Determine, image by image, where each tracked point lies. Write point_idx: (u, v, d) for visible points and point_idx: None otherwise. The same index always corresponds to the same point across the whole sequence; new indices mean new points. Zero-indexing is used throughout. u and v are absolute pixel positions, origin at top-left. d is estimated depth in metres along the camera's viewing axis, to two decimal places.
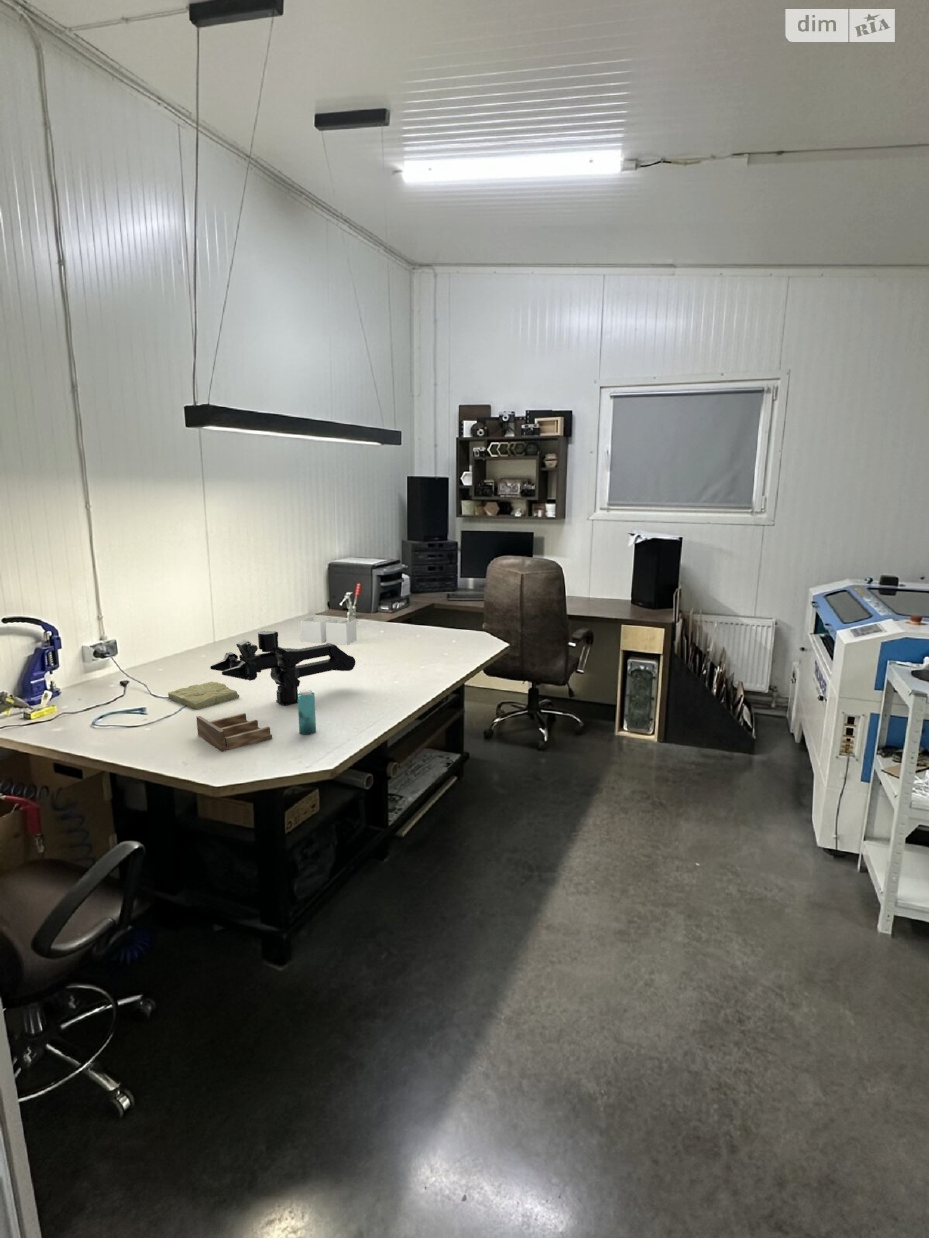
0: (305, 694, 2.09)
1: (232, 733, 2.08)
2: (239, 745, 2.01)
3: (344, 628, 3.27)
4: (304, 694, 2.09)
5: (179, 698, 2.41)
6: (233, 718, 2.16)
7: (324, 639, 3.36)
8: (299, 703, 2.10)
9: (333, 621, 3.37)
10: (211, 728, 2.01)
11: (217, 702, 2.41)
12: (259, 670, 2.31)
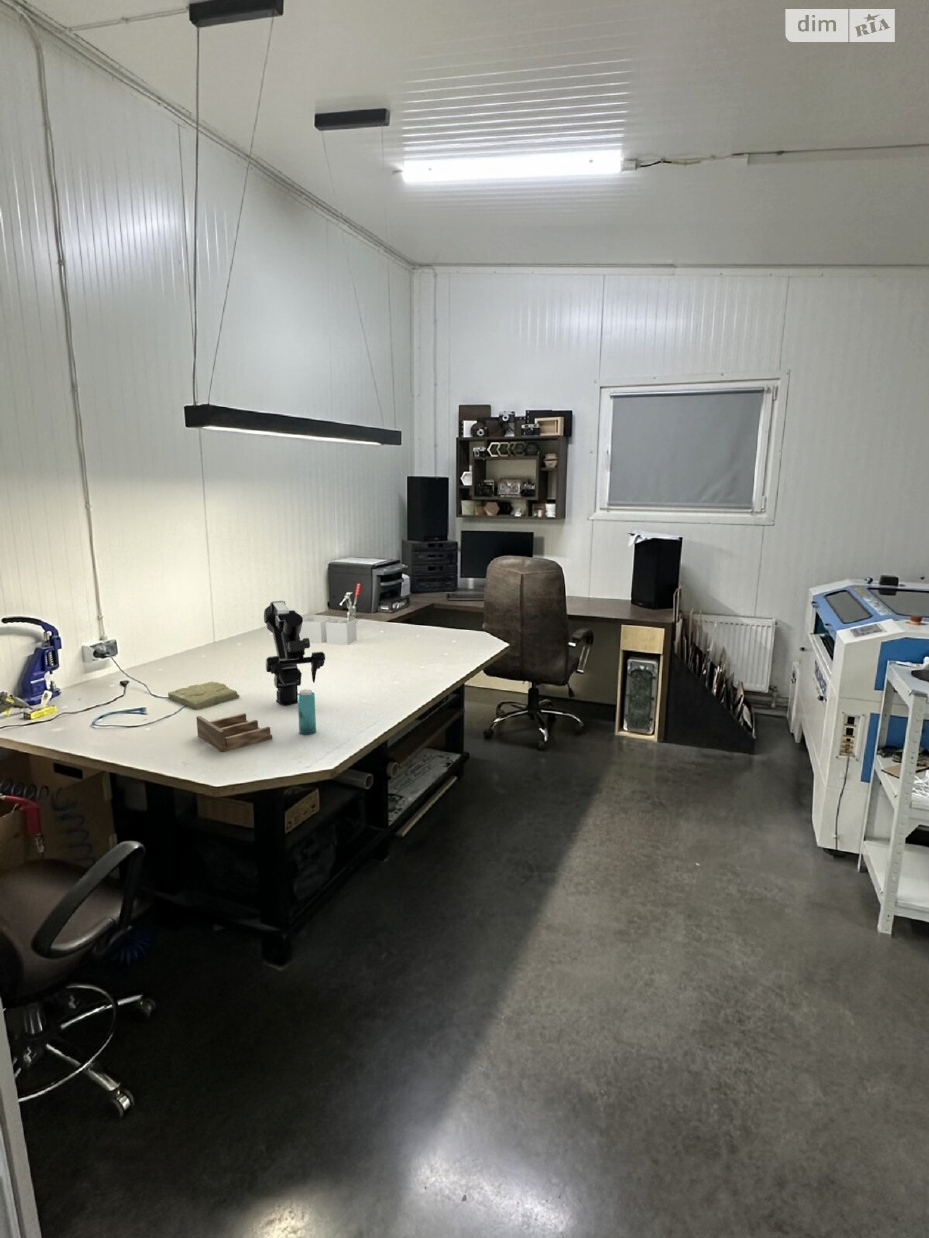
0: (305, 694, 2.09)
1: (232, 733, 2.08)
2: (239, 745, 2.01)
3: (344, 628, 3.28)
4: (304, 694, 2.09)
5: (179, 698, 2.41)
6: (233, 718, 2.16)
7: (324, 639, 3.36)
8: (299, 703, 2.10)
9: (333, 621, 3.37)
10: (211, 728, 2.01)
11: (217, 702, 2.41)
12: None
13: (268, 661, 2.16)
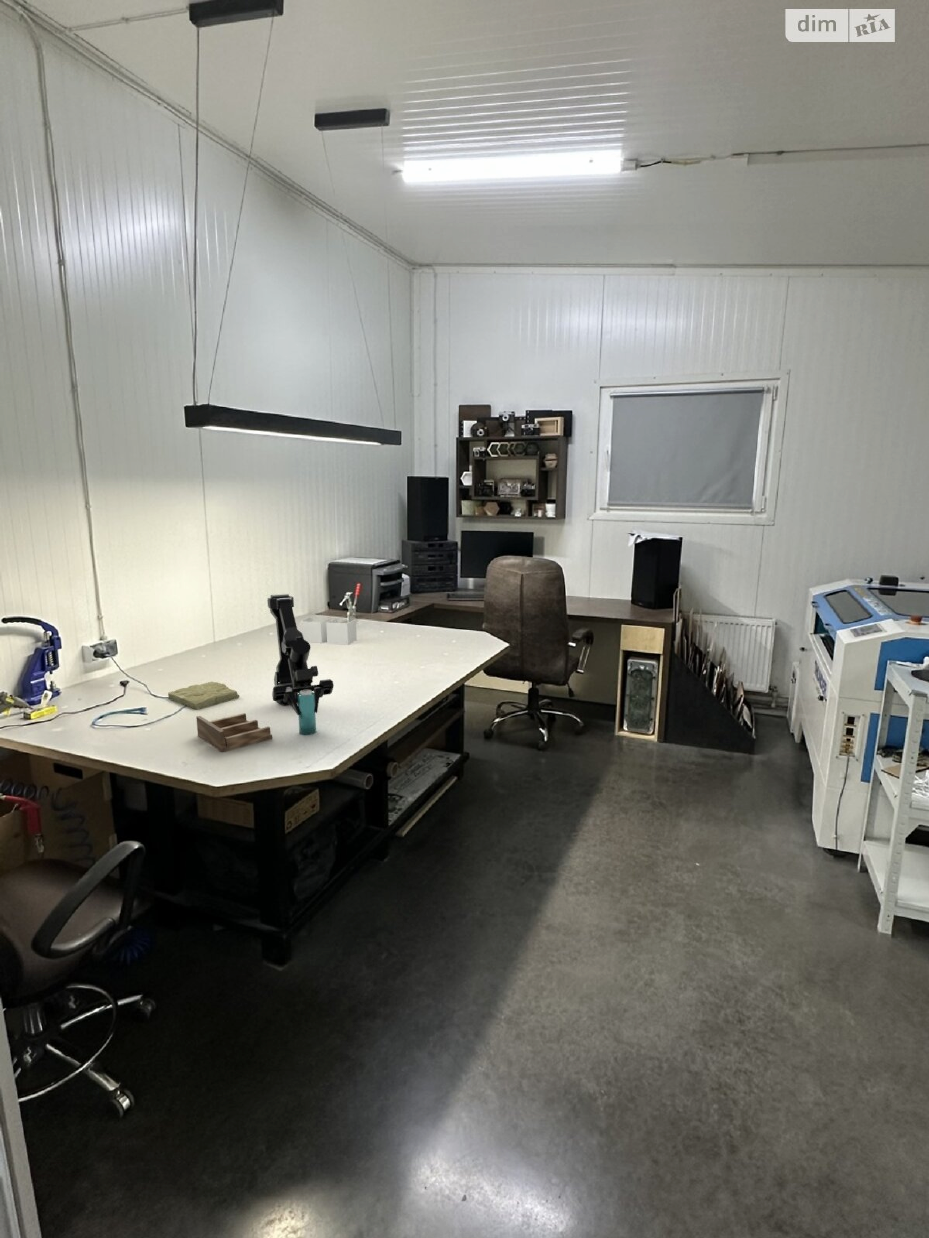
0: (305, 694, 2.09)
1: (232, 733, 2.08)
2: (239, 745, 2.01)
3: (345, 627, 3.28)
4: (304, 694, 2.09)
5: (179, 698, 2.41)
6: (233, 718, 2.16)
7: (324, 639, 3.36)
8: (299, 703, 2.10)
9: (333, 621, 3.37)
10: (211, 728, 2.01)
11: (217, 702, 2.41)
12: None
13: (275, 690, 2.09)
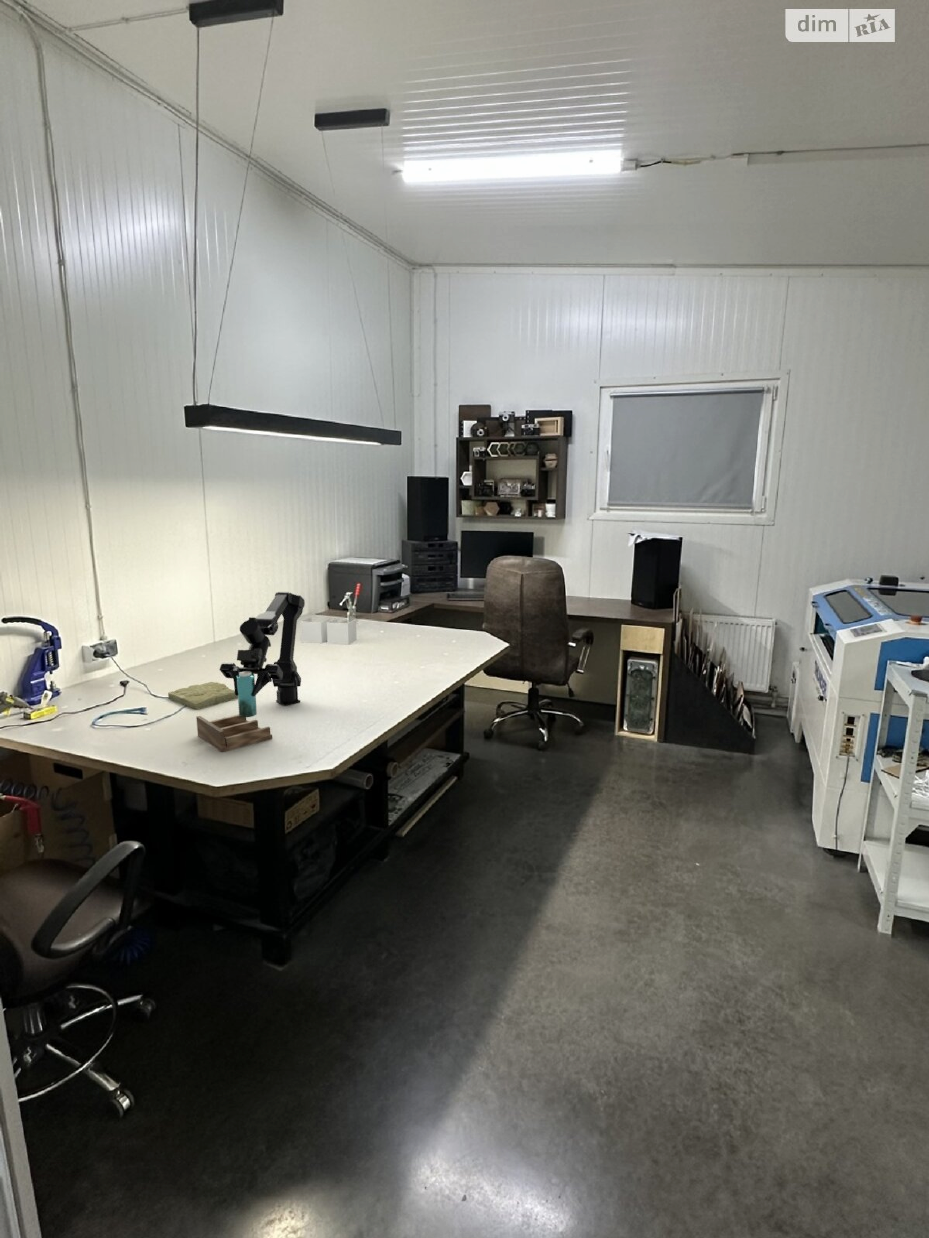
0: (241, 675, 2.05)
1: (232, 733, 2.08)
2: (239, 745, 2.01)
3: (346, 627, 3.28)
4: (240, 675, 2.05)
5: (179, 698, 2.41)
6: (233, 718, 2.16)
7: (324, 639, 3.36)
8: (237, 684, 2.07)
9: (333, 621, 3.37)
10: (211, 728, 2.01)
11: (217, 702, 2.41)
12: (265, 659, 2.16)
13: (220, 667, 2.10)
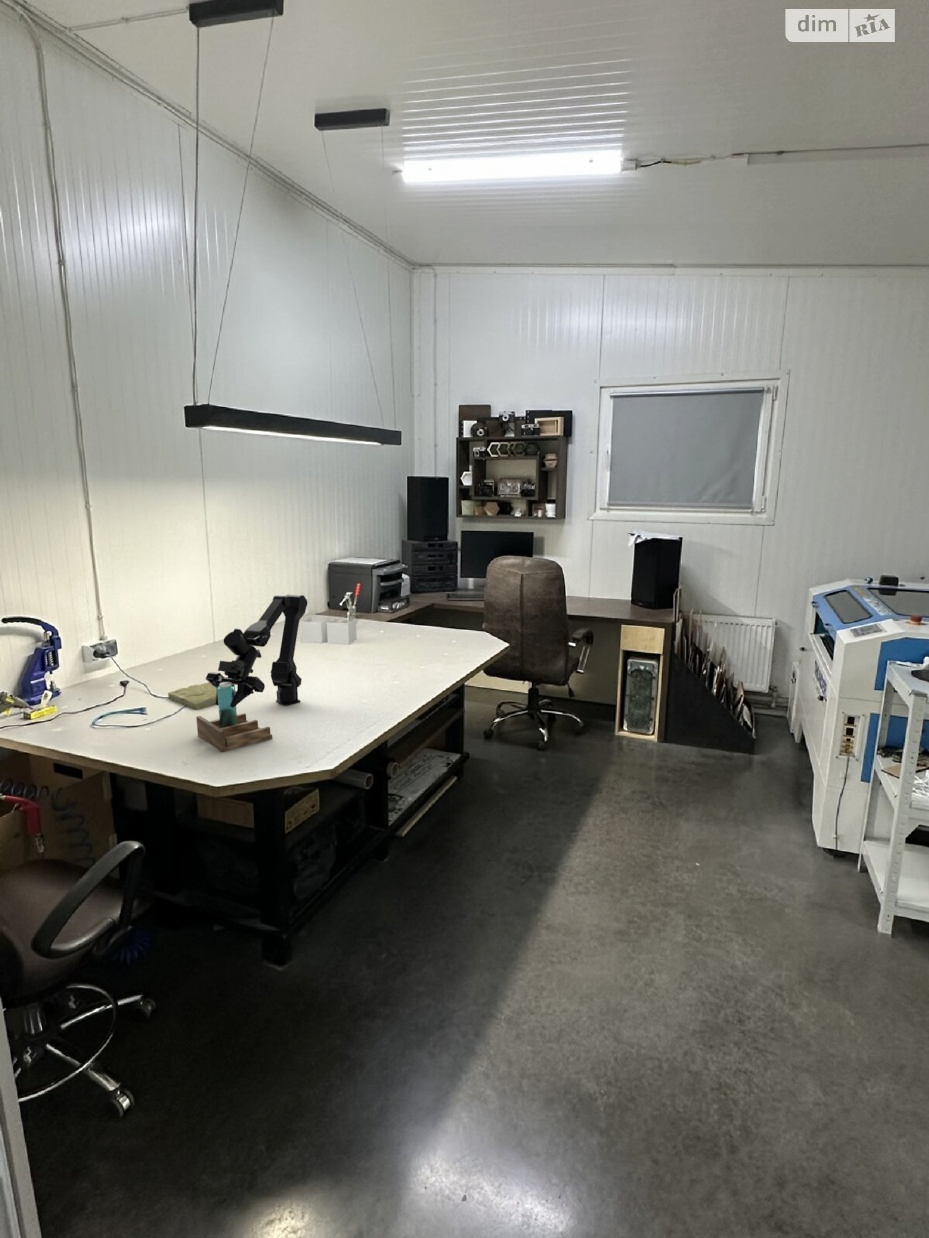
0: (220, 686, 2.08)
1: (232, 733, 2.08)
2: (239, 745, 2.01)
3: (346, 627, 3.28)
4: (220, 686, 2.08)
5: (179, 698, 2.41)
6: None
7: (324, 639, 3.36)
8: None
9: (333, 621, 3.37)
10: (211, 728, 2.01)
11: None
12: (251, 671, 2.17)
13: (206, 676, 2.14)
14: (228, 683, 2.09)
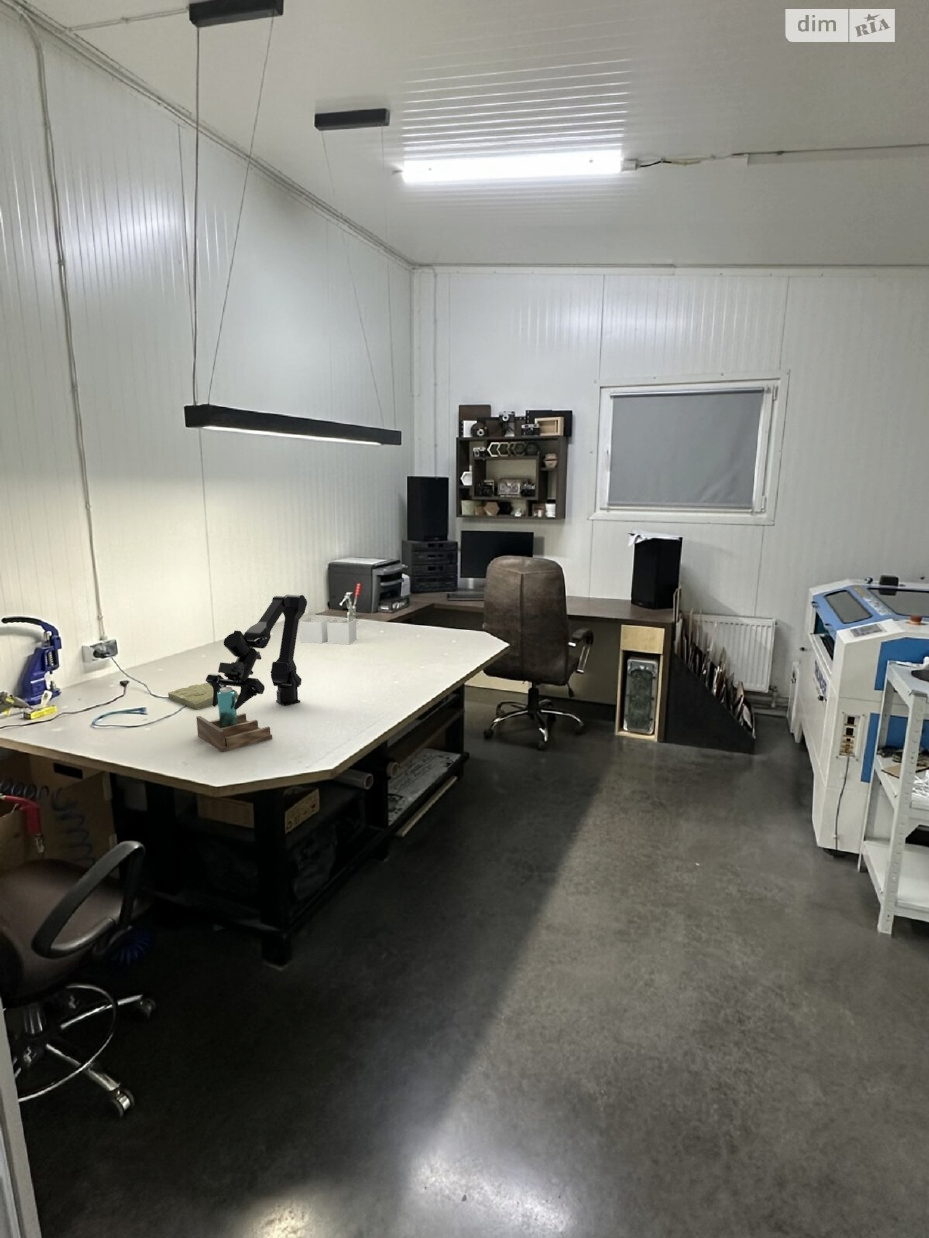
0: (221, 691, 2.08)
1: (232, 733, 2.08)
2: (239, 745, 2.01)
3: (346, 627, 3.28)
4: (220, 691, 2.08)
5: (179, 698, 2.41)
6: None
7: (324, 639, 3.36)
8: None
9: (333, 621, 3.37)
10: (211, 728, 2.01)
11: None
12: (251, 672, 2.17)
13: (206, 678, 2.14)
14: (228, 688, 2.09)
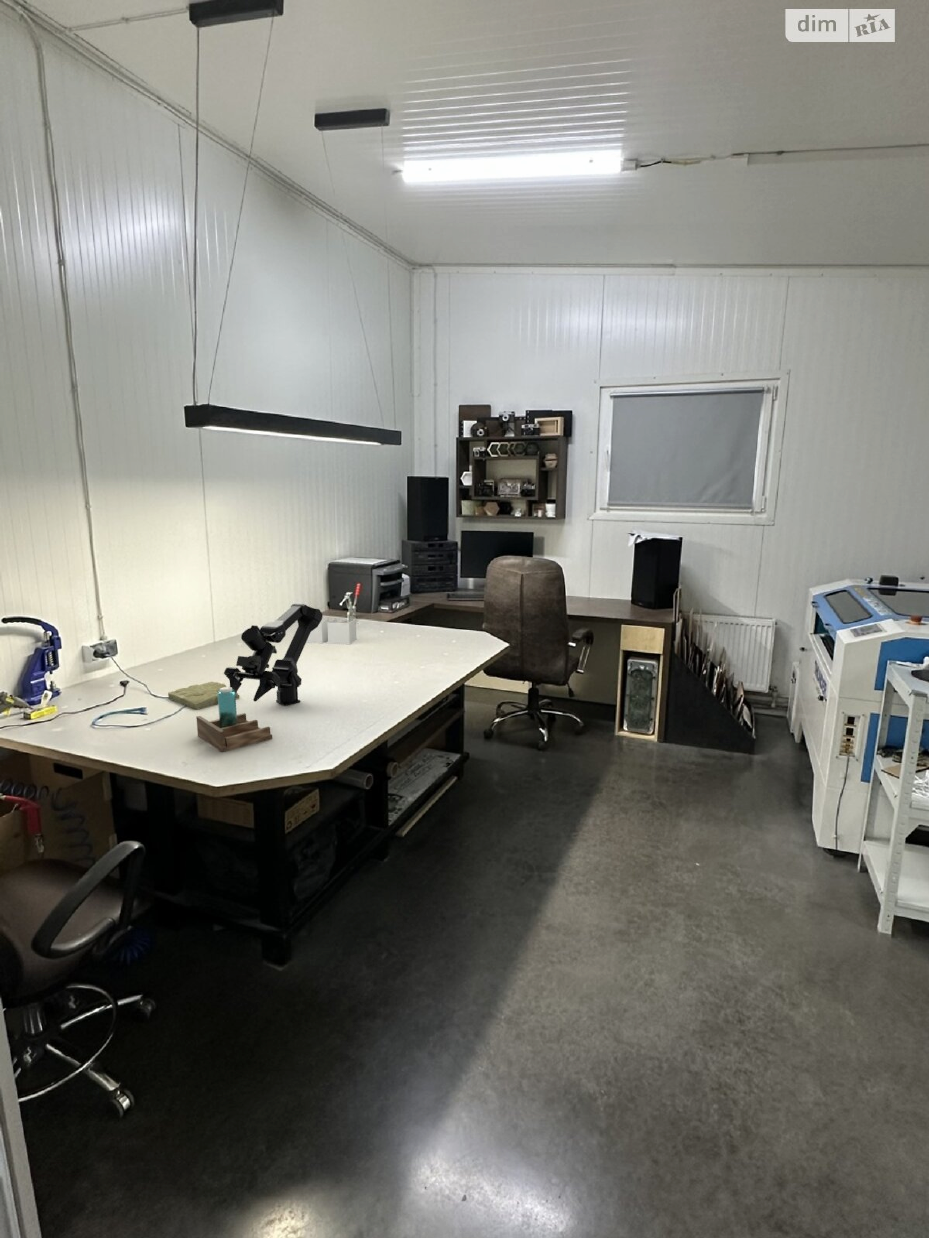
0: (221, 691, 2.08)
1: (232, 733, 2.08)
2: (239, 745, 2.01)
3: (347, 627, 3.29)
4: (220, 691, 2.08)
5: (179, 698, 2.41)
6: None
7: (324, 639, 3.36)
8: None
9: (333, 621, 3.37)
10: (211, 728, 2.01)
11: (217, 702, 2.41)
12: (268, 666, 2.26)
13: (224, 671, 2.22)
14: (228, 688, 2.09)
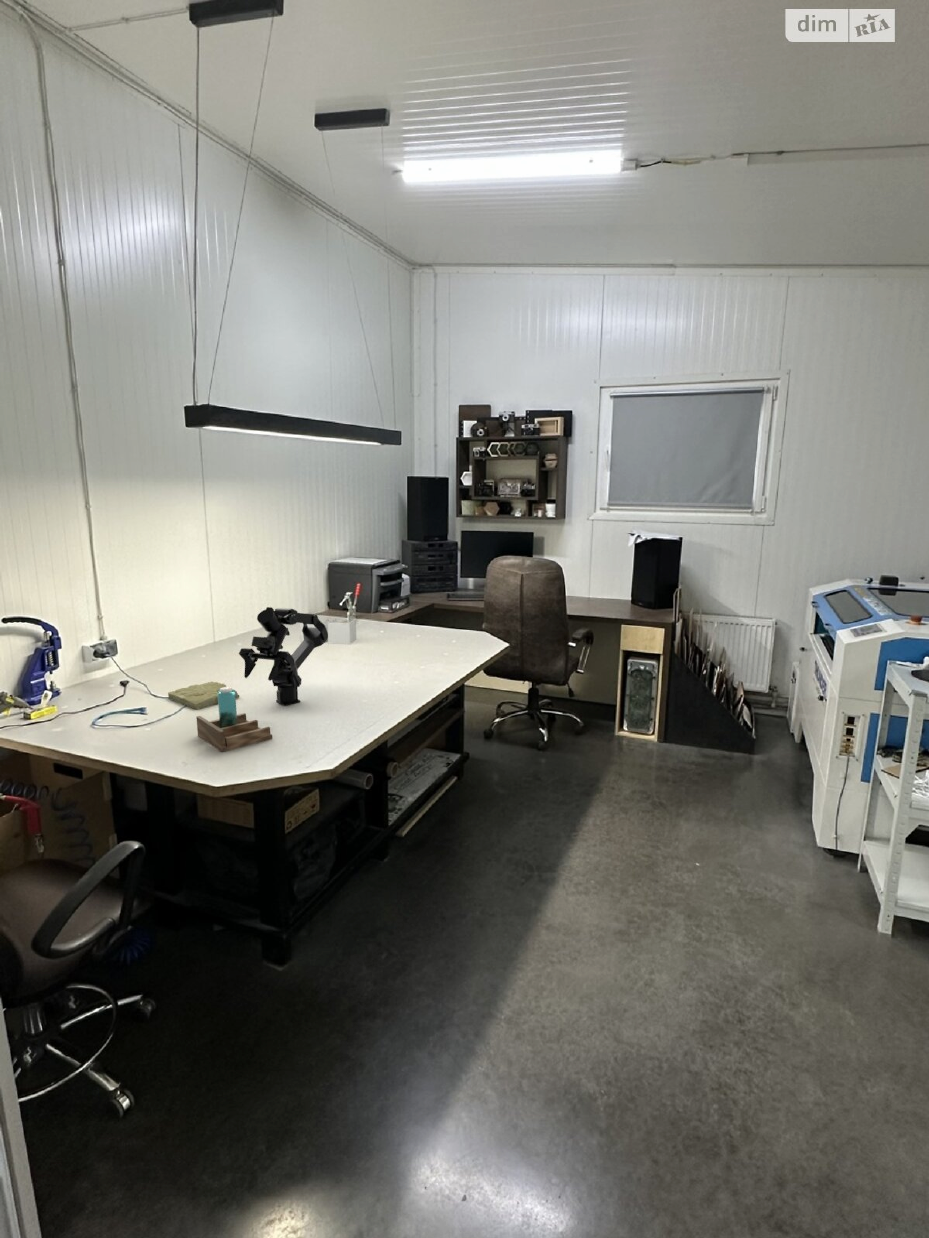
0: (221, 691, 2.08)
1: (232, 733, 2.08)
2: (239, 745, 2.01)
3: (347, 627, 3.29)
4: (220, 691, 2.08)
5: (179, 698, 2.41)
6: None
7: None
8: None
9: (333, 621, 3.37)
10: (211, 728, 2.01)
11: (217, 702, 2.41)
12: (281, 647, 2.32)
13: (239, 652, 2.28)
14: (228, 688, 2.09)
